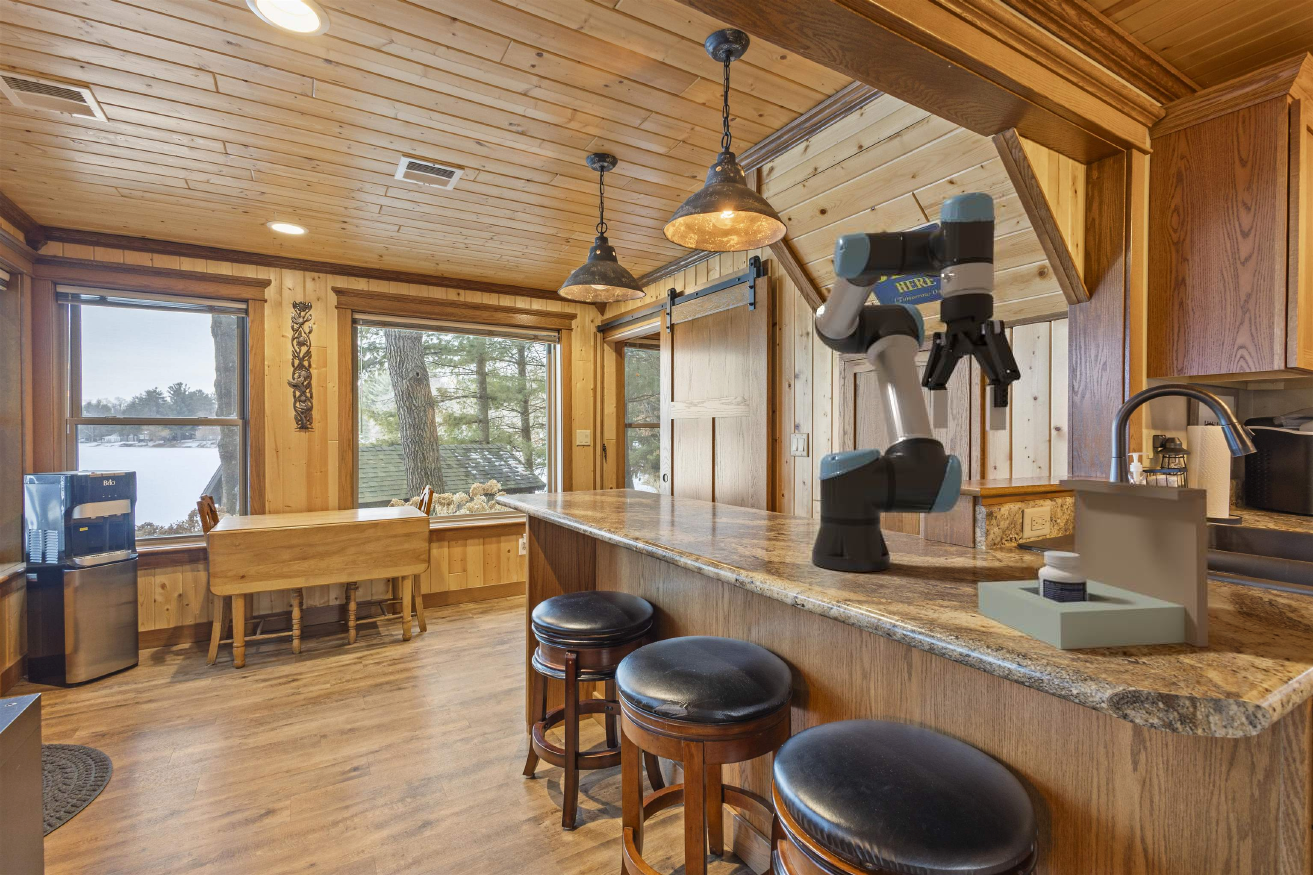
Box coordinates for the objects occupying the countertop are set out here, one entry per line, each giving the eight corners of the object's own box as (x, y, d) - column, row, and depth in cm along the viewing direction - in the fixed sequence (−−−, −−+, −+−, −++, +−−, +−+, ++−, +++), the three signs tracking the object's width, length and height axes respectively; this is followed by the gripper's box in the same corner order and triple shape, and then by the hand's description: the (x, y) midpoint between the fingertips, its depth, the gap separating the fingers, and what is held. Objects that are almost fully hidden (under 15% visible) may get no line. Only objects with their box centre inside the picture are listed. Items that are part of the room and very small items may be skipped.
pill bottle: (1097, 632, 76) (1095, 557, 77) (1053, 631, 77) (1052, 557, 77) (1072, 619, 82) (1071, 549, 82) (1031, 619, 82) (1030, 549, 82)
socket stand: (971, 610, 88) (970, 481, 88) (1084, 604, 90) (1082, 479, 90) (1070, 654, 70) (1069, 492, 70) (1208, 646, 72) (1206, 489, 72)
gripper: (900, 309, 105) (900, 428, 106) (1002, 277, 81) (1001, 431, 81) (939, 310, 106) (938, 427, 107) (1051, 278, 82) (1049, 430, 83)
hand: (965, 429), depth 94 cm, fingers open, 13 cm apart
